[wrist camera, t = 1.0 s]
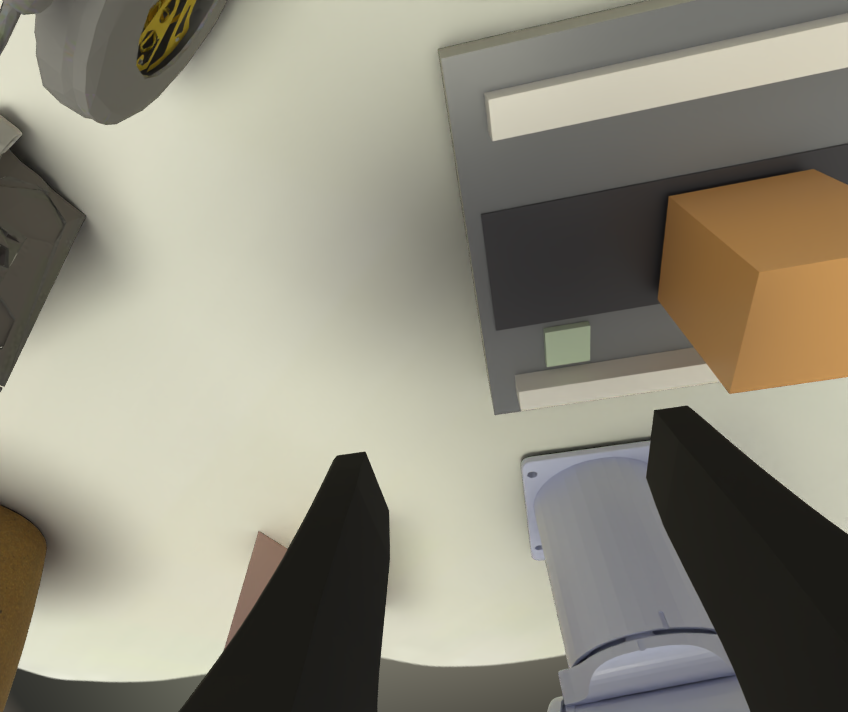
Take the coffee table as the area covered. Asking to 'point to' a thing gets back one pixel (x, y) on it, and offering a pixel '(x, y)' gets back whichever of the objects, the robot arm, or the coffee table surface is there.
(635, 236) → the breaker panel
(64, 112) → the coffee table surface
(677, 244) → the block
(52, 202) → the electrical switch
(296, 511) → the coffee table surface
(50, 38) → the pocket watch
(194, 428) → the coffee table surface
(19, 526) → the plant pot
